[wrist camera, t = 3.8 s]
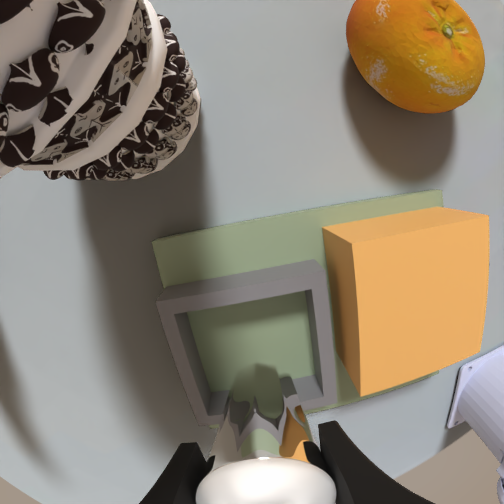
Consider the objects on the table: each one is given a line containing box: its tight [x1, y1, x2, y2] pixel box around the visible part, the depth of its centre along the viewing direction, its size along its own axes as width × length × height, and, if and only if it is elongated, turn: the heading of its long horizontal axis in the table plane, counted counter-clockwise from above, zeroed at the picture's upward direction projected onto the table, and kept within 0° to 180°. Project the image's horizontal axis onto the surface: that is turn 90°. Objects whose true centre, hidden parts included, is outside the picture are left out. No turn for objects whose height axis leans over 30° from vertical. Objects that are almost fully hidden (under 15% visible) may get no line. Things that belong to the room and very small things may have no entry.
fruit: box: [346, 0, 485, 113], centre depth 13 cm, size 8×8×8 cm
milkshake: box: [196, 362, 336, 504], centre depth 10 cm, size 4×5×10 cm
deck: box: [152, 190, 489, 429], centre depth 16 cm, size 18×14×6 cm
